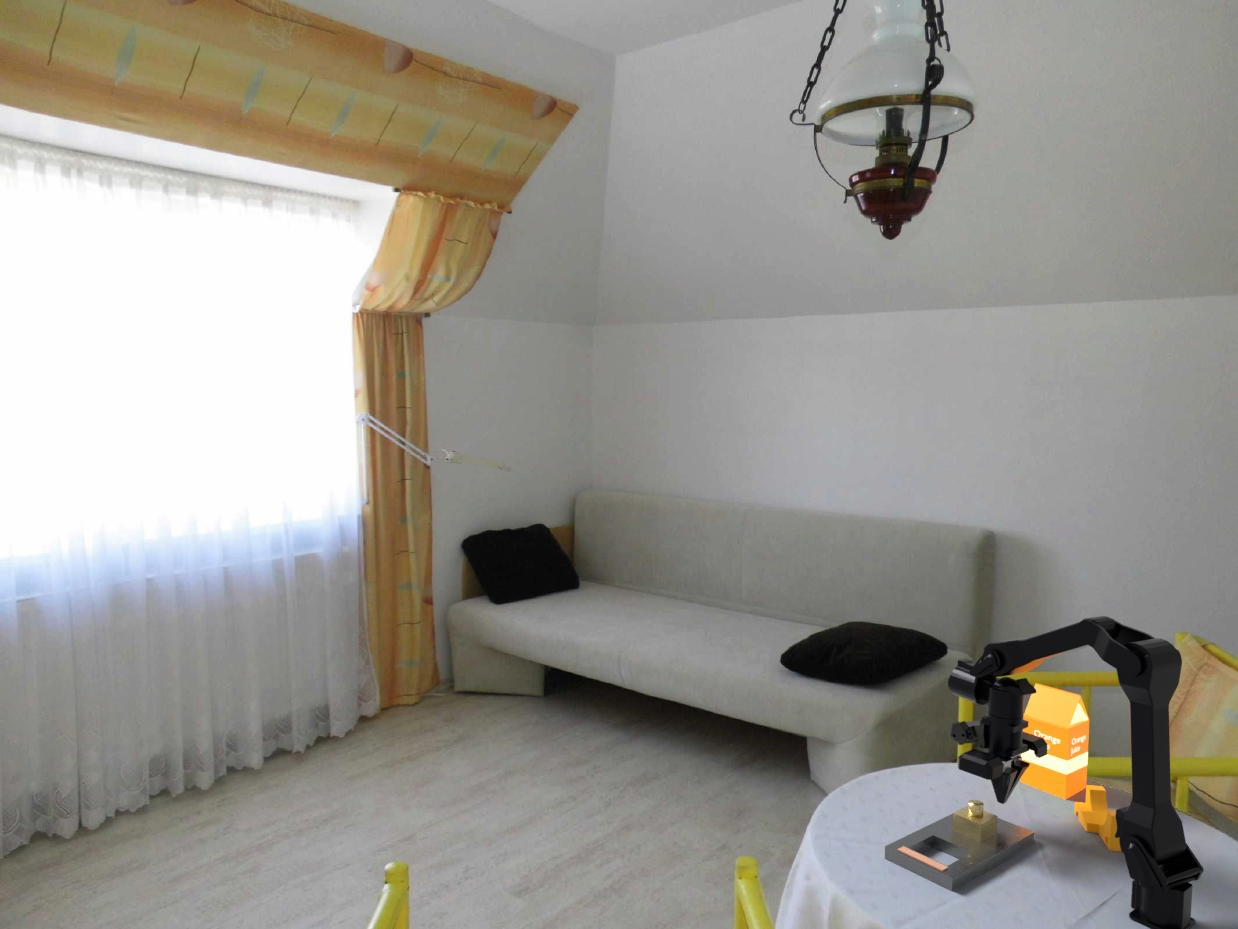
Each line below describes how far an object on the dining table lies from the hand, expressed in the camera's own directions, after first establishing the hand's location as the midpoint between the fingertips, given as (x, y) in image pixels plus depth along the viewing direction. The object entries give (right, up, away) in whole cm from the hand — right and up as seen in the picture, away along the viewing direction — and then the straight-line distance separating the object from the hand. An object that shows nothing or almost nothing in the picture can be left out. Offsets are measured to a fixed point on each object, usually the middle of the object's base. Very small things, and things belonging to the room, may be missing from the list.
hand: (1001, 802), depth 154 cm
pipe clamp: (+16, -6, -1) cm, 17 cm away
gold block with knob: (-6, -3, -5) cm, 9 cm away
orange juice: (+16, -4, +15) cm, 23 cm away
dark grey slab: (-10, -5, -7) cm, 13 cm away
